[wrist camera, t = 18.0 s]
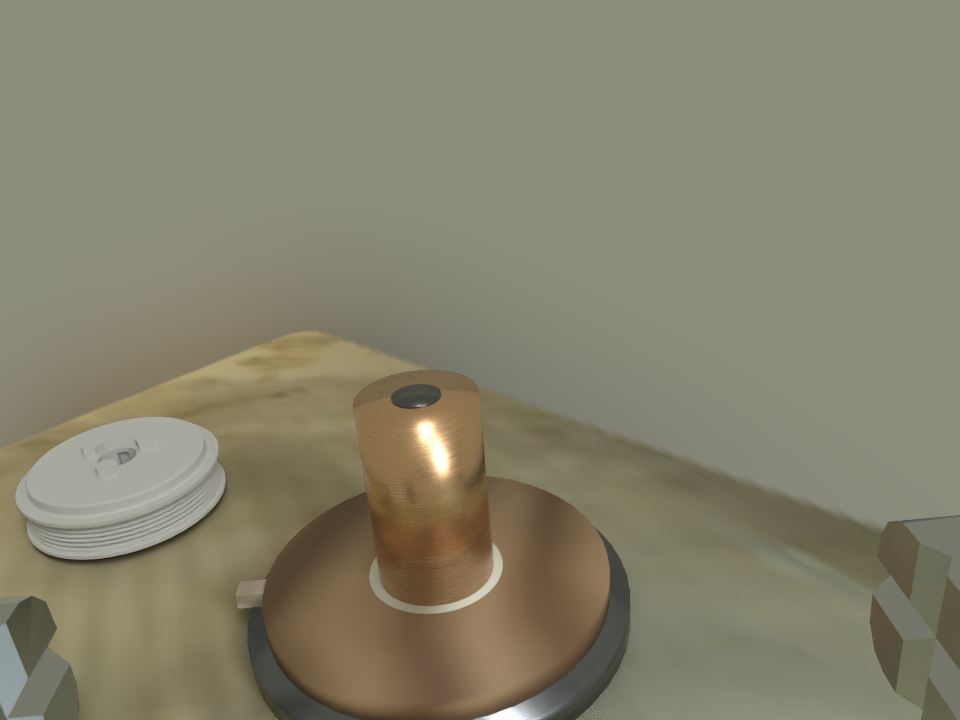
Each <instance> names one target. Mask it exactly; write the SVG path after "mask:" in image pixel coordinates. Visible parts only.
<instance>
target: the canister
mask: <svg viewBox="0 0 960 720" xmlns="http://www.w3.org/2000/svg"><path fill="white" fill-rule="evenodd" d="M353 408H354V415H355V421H356V428H357V434H358V440H359V447H360V453H361V460H362V466H363V473H364V479H365V486H366V492H367V499H368V505H369V512H370V518H371V524H372V531H373V537H374V544H375V550H376V557H377V563H378V570H379V576H380V581H381V584H382V586H383V588H384V589H385V590H386V591H387V592H388V593H389V594H390V595H391V596H392V597H394V598H396V599H398V600H400V601H402V602H405V603H409V604H413V605H419V606H438V605H445V604H450V603H453V602H457V601H460V600H462V599H465V598H467V597H469V596H471V595H472V594H474V593H475V592H477V591H478V590H480V589H481V588H482V587H483V586H484V585H485V584H486V583H487V582H488V580H489V579H490V577H491V575H492V573H493V569H494V558H493V546H492V535H491V523H490V512H489V500H488V489H487V477H486V466H485V455H484V443H483V432H482V420H481V409H480V397H479V389H478V387H477V385H476V384H475V383H474V382H473V381H472V380H471V379H469V378H467V377H465V376H463V375H460V374H457V373H453V372H447V371H440V370H419V371H410V372H404V373H399V374H395V375H391V376H388V377H385V378H382V379H380V380H378V381H375V382H373V383H371V384H370V385H368V386H367V387H365V388H364V389H363V390H361V391H360V392H359V393H358V394H357V396H356V397H355V399H354V402H353Z"/></svg>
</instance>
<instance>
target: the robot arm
mask: <svg viewBox="0 0 960 720" xmlns="http://www.w3.org/2000/svg"><path fill="white" fill-rule="evenodd" d="M878 558H879V559H880V561H881V562H882V564H883V565H884V566H885V568H886V569H887V571H888V572H889V573H890V576H889V577H888V578H887V579H886V580H885V581H884V582H883V583H882V584H881V585H880V587H879V588H878V589H877V590H876V591H875V592H874V593H873V596H872V606H871V616H870V625H871V631H872V637H873V643H874V649H875V652H876V655H877V657H878V660H879V663H880V665H881V668H882V670H883V672H884V674H885V676H886V677H887V679H888V681H889V682H890V684H891V686H892V688H893V689H894V691H895V693H897V694H899V695H900V696H902V697H903V698H905V699H907V700H908V701H910V702H912V703H913V704H915V705H916V706H918V707H920V708H921V709H923V711H922V717H921V720H960V515H959V516H949V517H937V518H926V519H915V520H904V521H893V522H888V524H887V526H886V528H885V529H884V531H883V533H882V535H881V540H880V546H879V553H878ZM56 629H57V627H56V625H55V623H54V620H53V618H52V616H51V613H50V611H49V608H48V606H47V604H46V602H45V601H43V600H41V599H38V598H36V597H34V596H21V597H5V598H0V720H77V717H78V711H79V702H78V692H77V683H76V680H75V677H74V675H73V672H72V669H71V666H70V664H69V663H68V662H66V661H65V660H64V659H62V658H61V657H60V656H58V655H57V654H56V653H54V652H53V651H52V650H50V649H49V648H48V645H49V643H50V641H51V639H52V637H53V635H54V633H55V631H56Z"/></svg>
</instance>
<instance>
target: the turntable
mask: <svg viewBox="0 0 960 720" xmlns="http://www.w3.org/2000/svg"><path fill="white" fill-rule="evenodd" d="M486 477H487V489H488V500H489V512H490V523H491V535H492V546H493V558H494V569H493V573H492V575H491V577H490V579H489V580H488V582H487V583H486V584H485V585H484V586H483V587H482V588H481V589H480V590H478V591H477V592H475V593H474V594H472V595H471V596H469V597H467V598H465V599H462V600H460V601H457V602H453V603H450V604H445V605H438V606H419V605H413V604H409V603H405V602H402V601H400V600H398V599H396V598H394V597H392V596H391V595H390V594H389V593H388V592H387V591H386V590H385V589H384V588H383V586H382V584H381V581H380V576H379V570H378V563H377V557H376V550H375V544H374V537H373V531H372V524H371V518H370V512H369V505H368V499H367V492H365V493H362V494H360V495H358V496H355V497H353V498H351V499H349V500H346V501H344V502H342V503H341V504H339V505H337V506H335V507H333V508H331V509H330V510H328V511H326V512H325V513H323V514H322V515H320V516H319V517H317V518H316V519H314V520H313V521H312V522H311V523H309V524H308V525H307V526H306V527H304V528H303V529H302V530H301V531H300V532H299V533H298V534H297V535H296V536H295V537H294V538H293V539H292V540H291V541H290V542H289V543H288V544H287V545H286V546H285V548H284V549H283V550H282V552H281V553H280V554H279V555H278V557H277V559H276V561H275V562H274V564H273V566H272V567H271V569H270V572H269V574H268V577H267V579H262V580H250V581H240V582H239V585H238V588H237V591H236V594H235V599H236V603H237V607H238V608H250V607H261V606H262V614H263V618H264V623H265V627H266V632H267V636H268V640H269V644H270V648H271V651H272V654H273V656H274V658H275V660H276V662H277V665H278V666H279V667H280V669H281V670H282V672H283V673H284V674H285V676H286V677H287V679H288V680H289V681H291V682H292V683H293V684H294V685H295V686H296V687H297V688H298V689H299V690H300V691H301V692H302V693H304V694H305V695H307V696H308V697H310V698H311V699H313V700H314V701H316V702H317V703H319V704H321V705H323V706H325V707H327V708H330V709H332V710H334V711H336V712H338V713H341V714H344V715H347V716H351V717H354V718H357V719H360V720H472V719H476V718H480V717H484V716H488V715H491V714H494V713H497V712H500V711H502V710H505V709H508V708H511V707H514V706H516V705H518V704H520V703H522V702H524V701H526V700H528V699H530V698H532V697H534V696H536V695H538V694H540V693H541V692H543V691H544V690H546V689H547V688H549V687H551V686H552V685H554V684H555V683H557V682H558V681H559V680H560V679H562V678H563V677H564V676H565V675H566V674H568V673H569V672H570V671H571V670H572V669H574V668H575V667H576V665H577V664H578V663H579V662H580V661H581V660H582V659H583V658H584V657H585V656H586V654H587V653H588V652H589V651H590V649H591V648H592V646H593V645H594V643H595V642H596V640H597V639H598V637H599V635H600V633H601V630H602V628H603V626H604V624H605V621H606V618H607V613H608V609H609V605H610V567H609V561H608V555H607V551H606V549H605V546H604V543H603V541H602V539H601V537H600V536H599V534H598V532H597V531H596V529H595V527H594V526H593V525H592V524H591V523H590V522H589V521H588V520H587V518H586V517H585V516H584V515H583V514H581V513H580V512H579V511H578V510H577V509H575V508H574V507H573V506H572V505H570V504H568V503H567V502H565V501H564V500H562V499H561V498H559V497H557V496H555V495H553V494H551V493H549V492H547V491H545V490H542V489H539V488H537V487H534V486H531V485H528V484H524V483H521V482H517V481H513V480H508V479H503V478H497V477H489V476H486Z"/></svg>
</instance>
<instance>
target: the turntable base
mask: <svg viewBox="0 0 960 720" xmlns="http://www.w3.org/2000/svg"><path fill="white" fill-rule="evenodd" d="M595 529H596V528H595ZM596 531H597V532H598V534H599V536H600V537H601V539H602V541H603V543H604V546H605V549H606V551H607V555H608V561H609V567H610V605H609V609H608V613H607V618H606V621H605V624H604V626H603V628H602V630H601V633H600V635H599V637H598V639H597V640H596V642H595V643H594V645H593V646H592V648H591V649H590V651H589V652H588V653H587V654H586V656H585V657H584V658H583V659H582V660H581V661H580V662H579V663H578V664H577V665H576V667H575V668H574V669H572V670H571V671H570V672H569V673H568V674H566V675H565V676H564V677H563V678H562V679H560V680H559V681H558V682H557V683H555V684H554V685H552V686H551V687H549V688H547V689H546V690H544V691H543V692H541V693H540V694H538V695H536V696H534V697H532V698H530V699H528V700H526V701H524V702H522V703H520V704H518V705H516V706H514V707H511V708H508V709H505V710H502V711H500V712H497V713H494V714H491V715H488V716H484V717H480V718H476V719H472V720H575V719H576V718H577V717H579V716H580V715H581V714H582V713H583V712H584V711H585V710H586V709H588V708H589V707H590V706H591V705H592V704H593V703H594V702H595V701H596V699H597V698H598V697H599V696H600V695H601V693H602V692H603V691H604V690H605V689H606V688H607V686H608V685H609V683H610V682H611V680H612V678H613V677H614V675H615V673H616V672H617V670H618V668H619V666H620V664H621V661H622V659H623V656H624V654H625V651H626V648H627V643H628V638H629V633H630V590H629V585H628V580H627V574H626V572H625V569H624V567H623V564H622V562H621V559H620V558H619V556H618V555H617V553H616V551H615V550H614V548H613V547H612V545H611V544H610V543H609V542H608V541H607V539H606V538H605V537H604V536H603V535H602V534H601V533H600V532H599V531H598V530H597V529H596ZM267 577H268V575H267V576H266V578H265V579H267ZM248 645H249V651H250V656H251V660H252V664H253V668H254V672H255V676H256V680H257V683H258V686H259V688H260V691H261V693H262V695H263V698H264V700H265V701H266V703H267V704H268V706H269V707H270V709H271V710H272V712H273V713H274V715H275V716H276V717H277V718H278V719H279V720H360V719H357V718H354V717H351V716H347V715H344V714H341V713H338V712H336V711H334V710H332V709H330V708H327V707H325V706H323V705H321V704H319V703H317V702H316V701H314V700H313V699H311V698H310V697H308V696H307V695H305V694H304V693H302V692H301V691H300V690H299V689H298V688H297V687H296V686H295V685H294V684H293V683H292V682H291V681H289V680H288V679H287V677H286V676H285V674H284V673H283V672H282V670H281V669H280V667H279V666H278V665H277V662H276V660H275V658H274V656H273V654H272V651H271V648H270V644H269V640H268V636H267V632H266V627H265V623H264V618H263V614H262V606H261V607H251V612H250V617H249V622H248Z"/></svg>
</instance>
